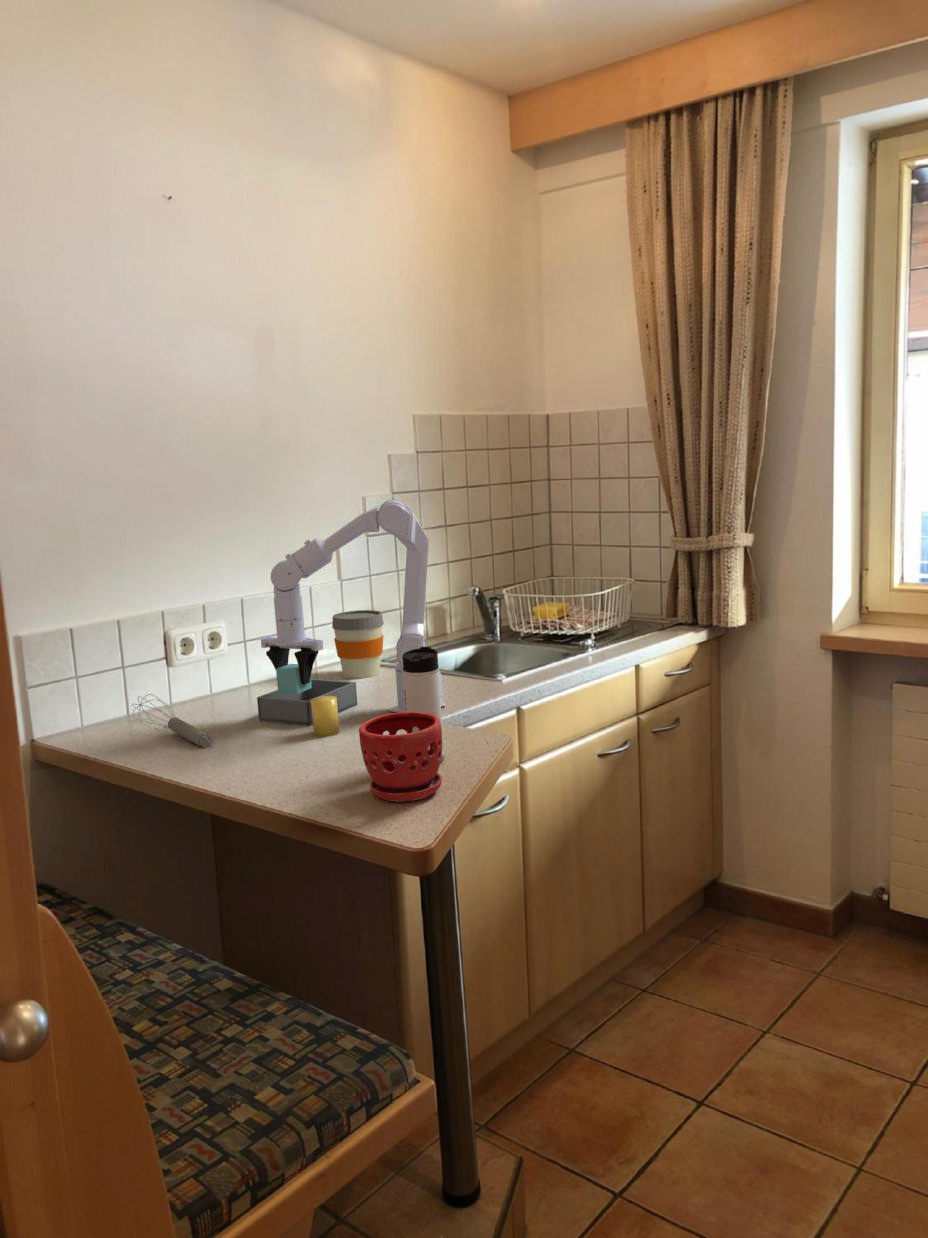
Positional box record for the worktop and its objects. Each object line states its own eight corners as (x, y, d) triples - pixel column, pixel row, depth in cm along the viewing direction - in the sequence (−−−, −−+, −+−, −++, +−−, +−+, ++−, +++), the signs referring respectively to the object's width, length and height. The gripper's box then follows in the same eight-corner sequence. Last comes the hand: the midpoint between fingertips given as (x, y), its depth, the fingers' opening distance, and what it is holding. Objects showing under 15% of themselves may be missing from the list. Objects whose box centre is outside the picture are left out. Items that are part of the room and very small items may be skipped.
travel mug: (449, 755, 183) (443, 646, 179) (436, 767, 176) (430, 654, 173) (417, 754, 185) (410, 645, 181) (403, 765, 178) (396, 653, 175)
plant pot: (381, 778, 172) (376, 709, 170) (455, 782, 169) (451, 711, 166) (351, 805, 160) (345, 732, 158) (430, 810, 156) (425, 734, 154)
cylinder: (344, 730, 202) (341, 696, 201) (329, 737, 198) (326, 702, 197) (323, 728, 205) (320, 694, 203) (308, 735, 200) (305, 701, 199)
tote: (308, 700, 228) (306, 678, 227) (357, 704, 222) (355, 682, 221) (259, 720, 213) (257, 697, 213) (310, 725, 207) (308, 701, 206)
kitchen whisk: (198, 754, 193) (194, 722, 191) (128, 724, 218) (124, 695, 217) (227, 747, 196) (224, 715, 195) (155, 718, 222) (152, 689, 221)
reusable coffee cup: (359, 666, 260) (355, 608, 258) (397, 671, 253) (393, 611, 250) (325, 677, 250) (320, 617, 248) (363, 682, 243) (359, 620, 240)
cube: (311, 688, 214) (309, 664, 213) (297, 693, 210) (295, 670, 209) (292, 686, 217) (290, 663, 216) (278, 692, 212) (275, 668, 211)
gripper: (249, 620, 211) (255, 684, 213) (306, 623, 204) (311, 689, 206) (270, 614, 217) (276, 677, 219) (326, 617, 210) (331, 681, 212)
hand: (294, 682), depth 213 cm, fingers closed on cube, 5 cm apart
